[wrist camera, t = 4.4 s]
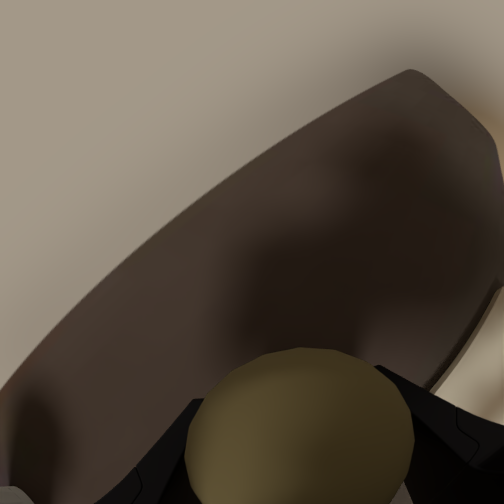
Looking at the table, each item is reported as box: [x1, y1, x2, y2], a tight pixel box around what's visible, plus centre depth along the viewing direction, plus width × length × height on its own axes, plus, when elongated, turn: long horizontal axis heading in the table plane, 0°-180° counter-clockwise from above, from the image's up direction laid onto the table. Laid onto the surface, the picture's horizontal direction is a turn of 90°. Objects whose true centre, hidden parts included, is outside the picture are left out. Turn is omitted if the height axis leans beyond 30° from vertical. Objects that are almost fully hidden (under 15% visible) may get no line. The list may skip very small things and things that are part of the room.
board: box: [429, 287, 504, 425], centre depth 10 cm, size 12×12×1 cm
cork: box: [184, 347, 415, 504], centre depth 8 cm, size 6×6×11 cm
